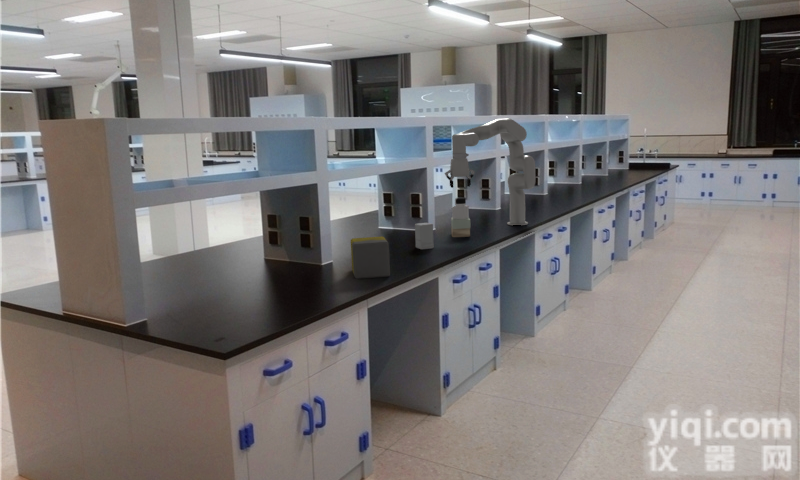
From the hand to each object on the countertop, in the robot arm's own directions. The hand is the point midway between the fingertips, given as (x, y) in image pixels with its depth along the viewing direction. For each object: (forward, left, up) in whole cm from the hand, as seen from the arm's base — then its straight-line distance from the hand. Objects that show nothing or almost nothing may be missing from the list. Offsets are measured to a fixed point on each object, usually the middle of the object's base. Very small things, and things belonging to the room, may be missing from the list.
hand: (460, 186), depth 345 cm
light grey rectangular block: (0, 0, -18) cm, 18 cm away
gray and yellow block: (+85, -43, -28) cm, 100 cm away
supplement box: (+34, -20, -28) cm, 49 cm away
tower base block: (0, 0, -28) cm, 28 cm away
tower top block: (0, 0, -23) cm, 23 cm away
